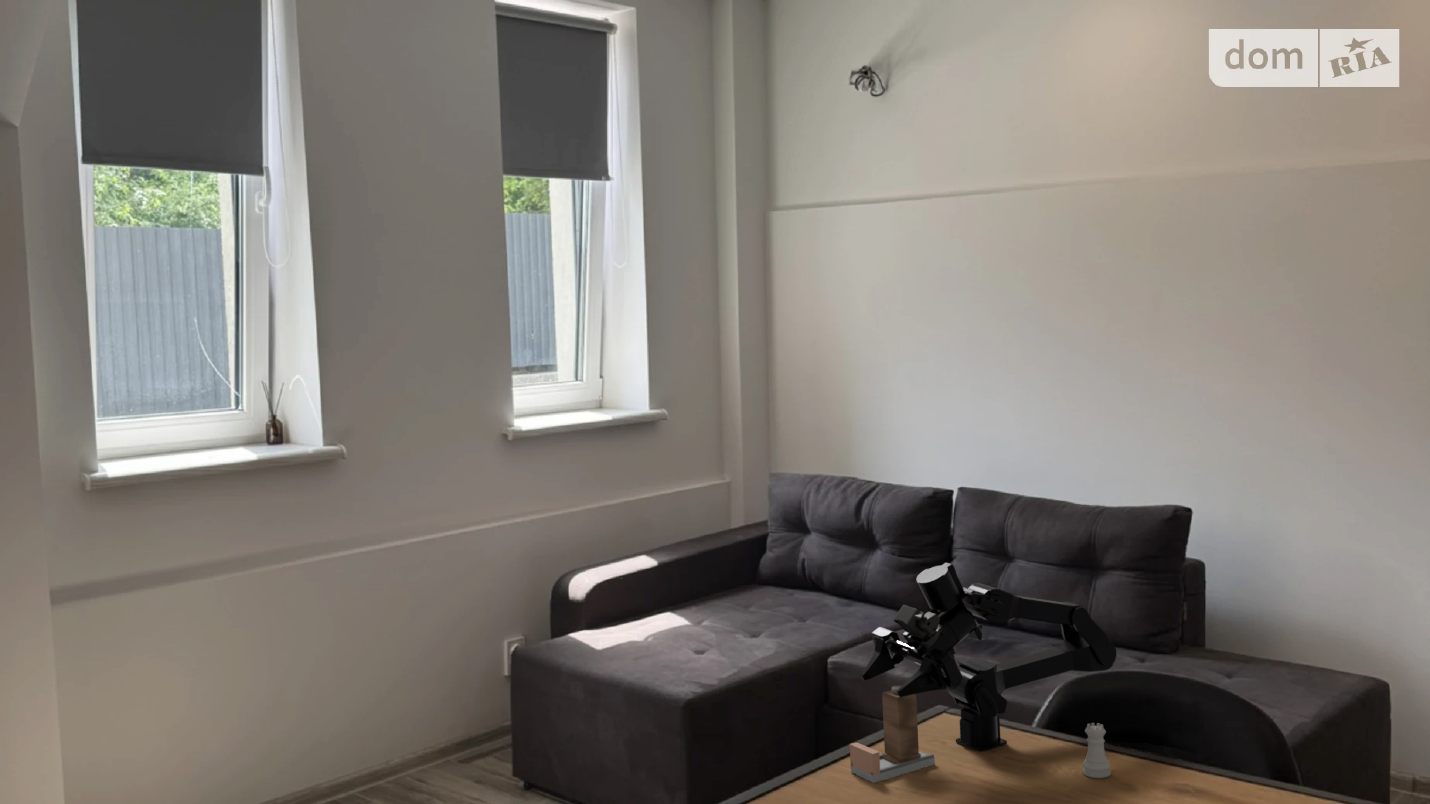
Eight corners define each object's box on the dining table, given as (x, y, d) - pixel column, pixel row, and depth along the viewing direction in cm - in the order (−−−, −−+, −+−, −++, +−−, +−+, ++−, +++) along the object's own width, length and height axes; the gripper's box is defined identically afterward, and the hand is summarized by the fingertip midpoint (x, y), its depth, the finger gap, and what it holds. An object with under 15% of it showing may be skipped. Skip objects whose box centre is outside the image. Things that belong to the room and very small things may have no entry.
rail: (911, 754, 204) (909, 727, 204) (934, 764, 199) (933, 736, 199) (851, 772, 197) (849, 744, 197) (873, 783, 192) (872, 753, 192)
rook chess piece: (1113, 779, 188) (1111, 730, 188) (1083, 779, 189) (1082, 729, 189) (1109, 769, 193) (1108, 721, 192) (1081, 768, 194) (1079, 720, 193)
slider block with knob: (905, 751, 202) (902, 682, 201) (920, 758, 199) (917, 687, 198) (883, 758, 200) (879, 687, 199) (898, 764, 196) (895, 693, 195)
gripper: (893, 582, 209) (829, 632, 203) (968, 607, 193) (901, 663, 187) (914, 633, 213) (851, 684, 206) (988, 661, 197) (923, 718, 190)
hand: (880, 686), depth 197 cm, fingers open, 9 cm apart
